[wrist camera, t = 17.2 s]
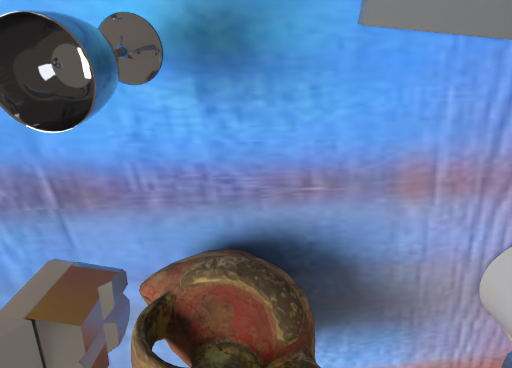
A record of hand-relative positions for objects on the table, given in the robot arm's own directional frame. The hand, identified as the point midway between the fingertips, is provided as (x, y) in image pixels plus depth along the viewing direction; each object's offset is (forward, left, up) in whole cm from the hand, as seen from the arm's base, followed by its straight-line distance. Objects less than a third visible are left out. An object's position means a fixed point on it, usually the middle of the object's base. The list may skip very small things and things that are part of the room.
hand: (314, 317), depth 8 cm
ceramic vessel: (+3, +28, -33) cm, 44 cm away
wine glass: (+18, 0, -33) cm, 38 cm away
